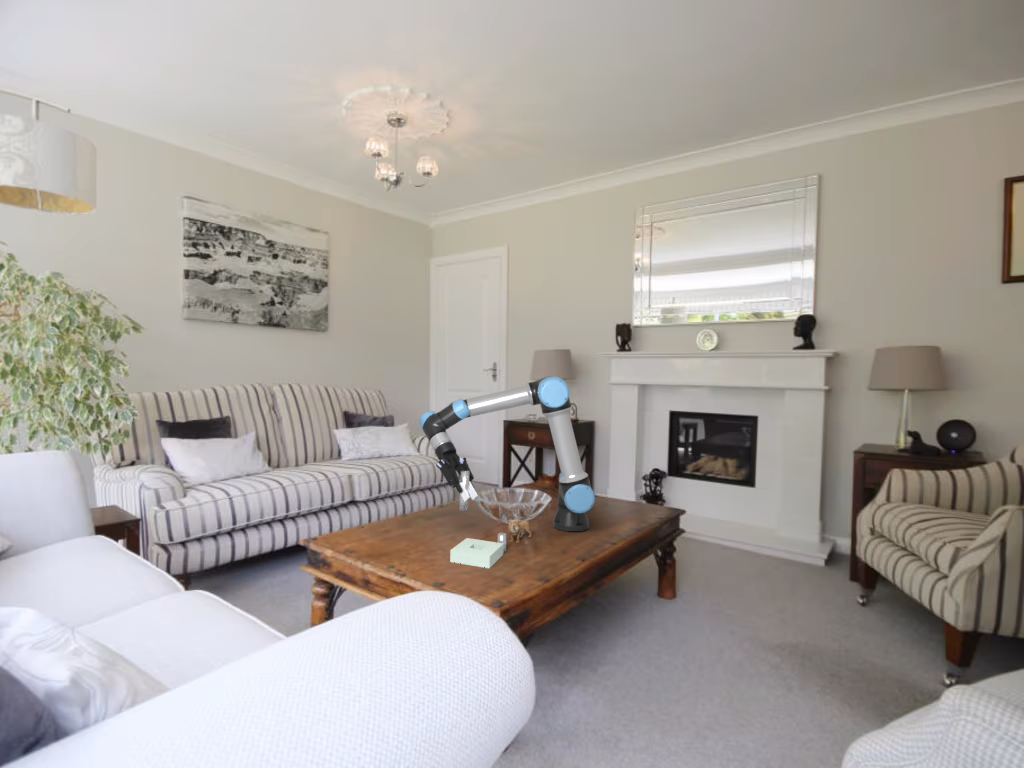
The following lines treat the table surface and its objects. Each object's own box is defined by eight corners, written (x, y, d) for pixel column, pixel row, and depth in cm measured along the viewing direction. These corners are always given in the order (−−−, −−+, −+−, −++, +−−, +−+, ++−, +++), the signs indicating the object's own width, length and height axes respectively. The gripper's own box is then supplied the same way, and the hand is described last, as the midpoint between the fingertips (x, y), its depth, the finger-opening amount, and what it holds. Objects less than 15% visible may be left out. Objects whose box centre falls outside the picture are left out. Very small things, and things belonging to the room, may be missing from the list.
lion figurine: (517, 546, 196) (518, 522, 196) (504, 543, 199) (505, 519, 199) (534, 536, 209) (535, 513, 209) (522, 533, 212) (523, 511, 211)
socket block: (503, 554, 186) (503, 543, 186) (489, 568, 173) (489, 556, 173) (466, 549, 191) (466, 537, 191) (450, 561, 177) (450, 550, 177)
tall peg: (469, 508, 195) (470, 470, 195) (465, 510, 192) (467, 472, 192) (461, 507, 196) (462, 470, 196) (457, 509, 193) (459, 471, 193)
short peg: (507, 549, 192) (507, 533, 192) (504, 552, 189) (505, 535, 189) (498, 548, 193) (499, 532, 193) (495, 551, 190) (496, 534, 190)
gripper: (454, 451, 210) (482, 501, 199) (421, 454, 198) (448, 508, 187) (464, 439, 206) (492, 489, 195) (431, 442, 194) (459, 496, 184)
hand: (471, 498), depth 191 cm, fingers closed on tall peg, 3 cm apart
